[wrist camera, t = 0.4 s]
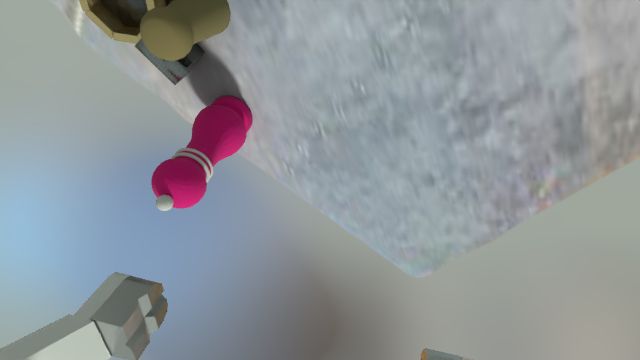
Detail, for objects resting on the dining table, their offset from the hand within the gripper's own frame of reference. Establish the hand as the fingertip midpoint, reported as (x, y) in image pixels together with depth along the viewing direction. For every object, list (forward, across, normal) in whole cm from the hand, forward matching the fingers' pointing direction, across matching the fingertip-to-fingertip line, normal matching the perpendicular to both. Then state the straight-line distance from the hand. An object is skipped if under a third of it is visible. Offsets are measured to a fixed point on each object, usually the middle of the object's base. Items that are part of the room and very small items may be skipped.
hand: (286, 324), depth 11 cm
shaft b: (+38, +26, +4) cm, 46 cm away
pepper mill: (+40, +20, +14) cm, 46 cm away
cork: (+38, +22, -1) cm, 44 cm away
